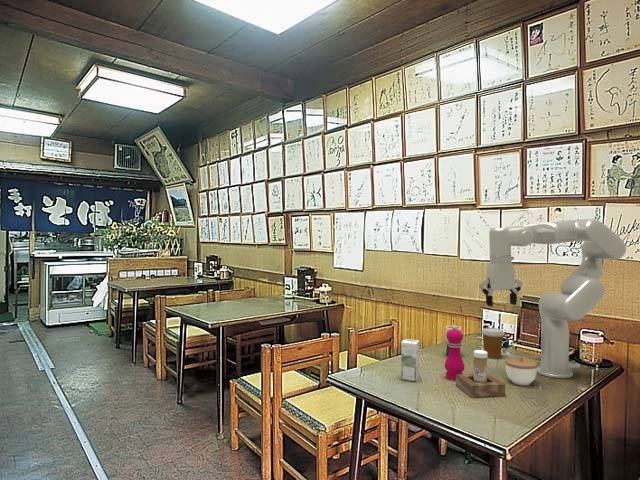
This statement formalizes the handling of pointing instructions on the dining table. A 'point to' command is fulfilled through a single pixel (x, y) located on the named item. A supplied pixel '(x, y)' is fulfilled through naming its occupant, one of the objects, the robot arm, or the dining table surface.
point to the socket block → (480, 386)
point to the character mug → (446, 337)
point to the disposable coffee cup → (493, 342)
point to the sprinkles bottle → (480, 366)
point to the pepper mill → (454, 354)
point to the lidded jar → (521, 370)
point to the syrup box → (410, 360)
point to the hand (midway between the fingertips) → (501, 305)
